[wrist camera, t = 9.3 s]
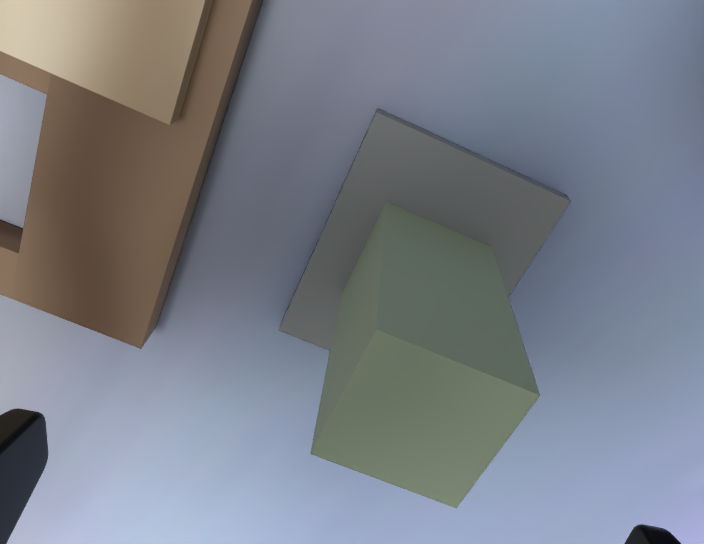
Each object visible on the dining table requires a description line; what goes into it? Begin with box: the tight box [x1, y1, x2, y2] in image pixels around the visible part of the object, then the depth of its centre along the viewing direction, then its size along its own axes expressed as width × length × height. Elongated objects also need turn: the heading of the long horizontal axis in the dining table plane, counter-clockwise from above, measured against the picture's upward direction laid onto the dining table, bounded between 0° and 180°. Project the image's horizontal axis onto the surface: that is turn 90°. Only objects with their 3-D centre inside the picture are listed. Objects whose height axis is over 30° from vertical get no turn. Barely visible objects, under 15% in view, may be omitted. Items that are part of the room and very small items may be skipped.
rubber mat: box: [279, 108, 571, 351], centre depth 21 cm, size 7×9×1 cm
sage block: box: [310, 202, 540, 508], centre depth 17 cm, size 4×4×8 cm
